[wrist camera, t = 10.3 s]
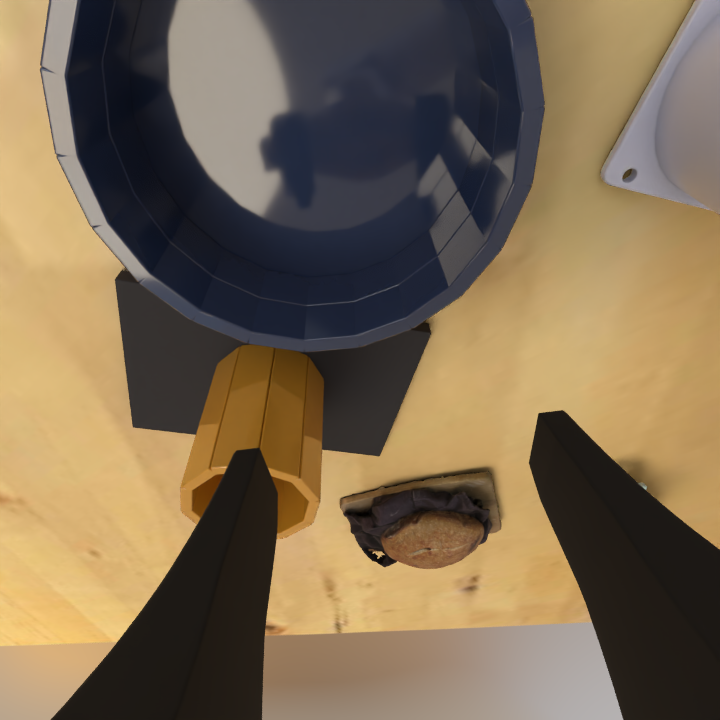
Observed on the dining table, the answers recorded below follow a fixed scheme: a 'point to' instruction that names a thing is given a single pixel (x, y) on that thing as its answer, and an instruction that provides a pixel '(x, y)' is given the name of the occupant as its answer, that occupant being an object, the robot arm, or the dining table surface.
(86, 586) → the dining table surface
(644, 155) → the robot arm
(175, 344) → the pot holder
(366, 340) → the pot
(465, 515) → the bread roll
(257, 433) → the cup
